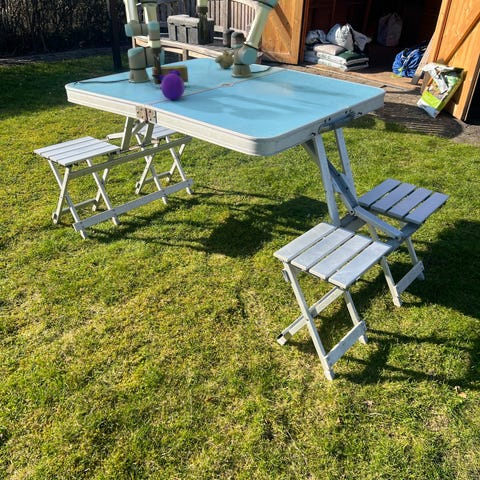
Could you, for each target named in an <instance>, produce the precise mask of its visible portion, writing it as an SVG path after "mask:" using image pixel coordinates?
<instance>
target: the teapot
mask: <svg viewBox="0 0 480 480" xmlns="http://www.w3.org/2000/svg"><path fill="white" fill-rule="evenodd" d="M227 50H228V49H223V51H224V52H223V51H222V55H217V56H216V57H215V59H214V62H215V63H216V64H218V65H219V66H220V68H221V69H223V70H226V69H230V68H231V67H232V66H234V58H233V57H234V50H233V51H231V52H230V53H229V51H227Z"/></svg>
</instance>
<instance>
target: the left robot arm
mask: <svg viewBox="0 0 480 480" xmlns="http://www.w3.org/2000/svg"><path fill="white" fill-rule="evenodd" d="M159 2H160V0H122V3H123V4H124V5H125V15H126V22H127V23H125V24H124V29H125V35H126V36H127V37H133V38H134V37H146V40H147V44H146V46H145V47H146V48H144V47H143V46H137V47H132V48H130V49H128V50H127V58H128V64H129V65H128V66H129V76H128V78H124V79H119V80H108V81H107V80H106V81H105V80H104V81H99V80H94V81H93V80H91V81H81V80H80V81H75V82H74V83H73V85H77V84H95V83H99V84H111V83H120V82H127V81H128V82H129V83H133V84H141V83H148V82H150V76H149V74H148V71H147V67H157V73H156V74H157V75H161V73H162V72H161V67H162V65H164V64H165V48H164V47H163V45H162V43H163V42H162V40H161V29H160V23H159V21H158V18H157V17H158V15H157V7H158V3H159ZM137 4H140V6H141V8H143V16H144V22H145V23H140V21H139V15H138V8H137V7H138V6H137ZM78 82H79V83H78ZM161 83H162V81H160V80H159V79H158V84H159V85H161Z"/></svg>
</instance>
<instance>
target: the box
mask: <svg viewBox="0 0 480 480" xmlns="http://www.w3.org/2000/svg"><path fill="white" fill-rule="evenodd" d="M173 70H178V71H179V73H180V77H181V78H182V79H183V82H184V83H189V73H188V71H189V70H188V67H187V65H186V64H180V65H169V66H168V65H167V66H161V72H162V73H161V75H168V73H169V72H170V71H173ZM151 73H152V75H157V74H156V73H157V67H154V66H151ZM152 80H153V82H152V83H153V84H154V86H157V85H160V84H158V79H157V78H155V77H153V76H152Z"/></svg>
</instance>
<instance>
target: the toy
mask: <svg viewBox="0 0 480 480" xmlns="http://www.w3.org/2000/svg"><path fill="white" fill-rule="evenodd" d="M151 77H152V78H153V77H155V78H157V79H159V80H160V81H162V83H161V84H160V89H161V93H162V95H163V97H165V98H166V99H168V100H171V101H172V100H173V101H177V100H178V99H180V98H181V97H182V96H183V95H184V93H185V90H186V86H185V82H183V79H182V78H181V77H180V73H179V71H178V70H173V71H170V72H169V73H168V75H153V74H151Z"/></svg>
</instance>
